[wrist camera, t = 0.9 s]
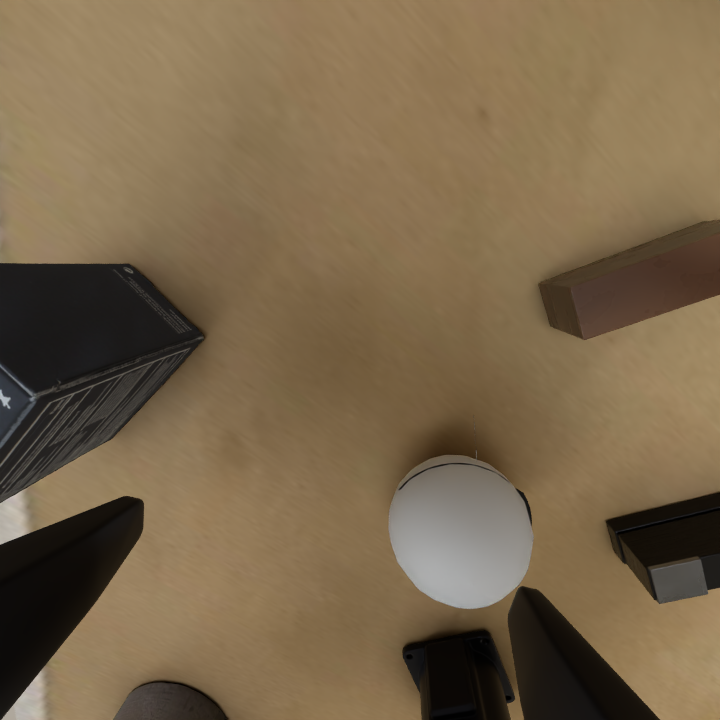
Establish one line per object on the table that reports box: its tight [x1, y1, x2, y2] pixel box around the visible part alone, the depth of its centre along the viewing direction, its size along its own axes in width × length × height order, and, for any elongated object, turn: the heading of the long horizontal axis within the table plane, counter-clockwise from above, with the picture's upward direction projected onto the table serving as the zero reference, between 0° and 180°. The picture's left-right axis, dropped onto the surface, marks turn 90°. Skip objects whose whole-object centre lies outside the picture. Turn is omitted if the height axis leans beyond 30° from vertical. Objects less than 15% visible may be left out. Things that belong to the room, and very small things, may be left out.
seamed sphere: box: [389, 416, 534, 609], centre depth 19 cm, size 10×7×7 cm
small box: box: [0, 263, 204, 503], centre depth 17 cm, size 11×6×10 cm, turn 134°
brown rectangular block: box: [539, 220, 720, 340], centre depth 17 cm, size 2×8×4 cm, turn 112°
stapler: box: [606, 493, 720, 604], centre depth 20 cm, size 2×8×4 cm, turn 112°
